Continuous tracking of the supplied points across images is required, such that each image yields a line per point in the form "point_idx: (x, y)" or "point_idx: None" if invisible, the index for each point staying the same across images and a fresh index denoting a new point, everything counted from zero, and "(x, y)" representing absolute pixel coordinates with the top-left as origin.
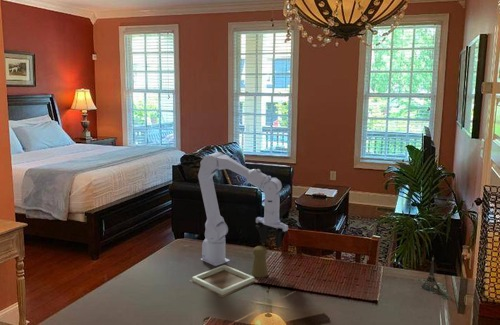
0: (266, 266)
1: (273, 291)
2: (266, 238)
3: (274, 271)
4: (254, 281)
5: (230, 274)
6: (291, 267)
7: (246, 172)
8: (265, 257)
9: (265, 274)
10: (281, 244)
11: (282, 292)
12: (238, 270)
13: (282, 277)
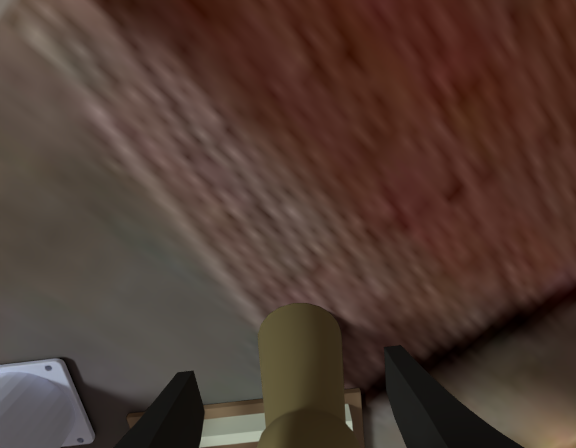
0: (333, 352)
1: (474, 391)
2: (182, 390)
3: (316, 255)
4: (352, 406)
5: None
6: (340, 131)
7: None
8: (336, 405)
9: (341, 343)
10: (413, 359)
11: (511, 370)
12: (238, 433)
13: (403, 271)
